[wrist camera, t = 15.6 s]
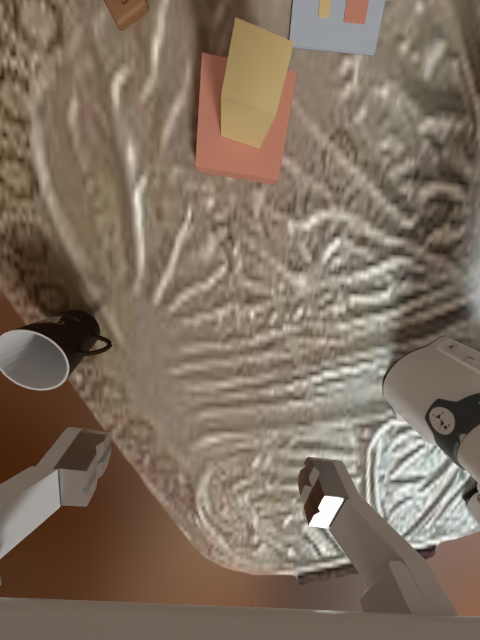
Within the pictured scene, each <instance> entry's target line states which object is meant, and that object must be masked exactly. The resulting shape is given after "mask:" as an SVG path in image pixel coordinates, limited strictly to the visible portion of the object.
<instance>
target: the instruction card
mask: <svg viewBox="0 0 480 640" xmlns="http://www.w3.org/2000/svg"><path fill="white" fill-rule="evenodd" d="M384 3H385V0H293V2H292V13H291V24H290V35H289V40H290V41H293V42H294V45H293V48H300V49H310V50H320V51H331V52H341V53H351V54H362V55H372V56H373V55H374V54H375V50H376V45H377V40H378V35H379V29H380V24H381V19H382V14H383V8H384Z"/></svg>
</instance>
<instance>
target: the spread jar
mask: <svg viewBox="0 0 480 640" xmlns="http://www.w3.org/2000/svg"><path fill="white" fill-rule="evenodd" d="M466 507H467V510H468V511H469V513H470V514H471V516H472V517H473V518H474V520H475V521H476V522H477V523H478V524H479V526H480V484H479V483H478V482H477V487H476V488H474V489H473V490H471V491H470V492H469V493H468V495H467V497H466Z"/></svg>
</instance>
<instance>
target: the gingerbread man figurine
mask: <svg viewBox="0 0 480 640" xmlns="http://www.w3.org/2000/svg"><path fill="white" fill-rule="evenodd" d="M104 2H105V4H106V6H107V7H108V9H109V11H110V13H111V15H112V17H113V19H114V21H115V23H116V24H117V26H118V28H119V30H121V31H124V30H125V29H126V28H128V27H129V26H130V25H132V24H133V23H134V22H135V21H137V20H138V19H139V18H141V17H142V16H143V15H144V14H146V13H147V12H148V11H149V6H148V3H147V1H146V0H104Z"/></svg>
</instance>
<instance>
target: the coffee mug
mask: <svg viewBox="0 0 480 640" xmlns="http://www.w3.org/2000/svg"><path fill="white" fill-rule="evenodd" d="M97 340H101V341H104V342H106V343H107V346H105V347H104V348H101V349H99V350H95V351H89V350H90V349H91V348H92V346H93V345H94V344H95V343H96V341H97ZM111 347H112V344H111V341H110V340H109V339H107V338H105V337H102V336H100V328H99V325H98V323H97V322H96V320H95V319H94V318H93V317H92V316H90V315H89V314H87V313H85V312H83V311H79V310H71V311H67V312H65V313H62V314H59V315H56V316H53V317H50V318H47V319H44V320H41V321H38V322H35V323H32V324H30V325H27V326H24V327H21V328H18V329H15V330H12V331H9V332H6V333H4V334H3V335H1V336H0V371H1V372H2V373H3V374H4V375H5V376H6V377H7V378H9V379H10V380H11V381H13V382H14V383H16V384H18V385H20V386H22V387H25V388H28V389H32V390H50V389H54V388H56V387H58V386H60V385H61V384H63V382H65V381H66V379H67V378H68V377H69V375H70V374H71V373H72V372H73V370H74V369H75V368H76V367H77V365H78V364H79V363H80V362H81V360H82V359H83V358H84V357H85V356H90V355H96V354H100V353H103V352H105V351H107V350H108V349H110V348H111Z"/></svg>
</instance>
